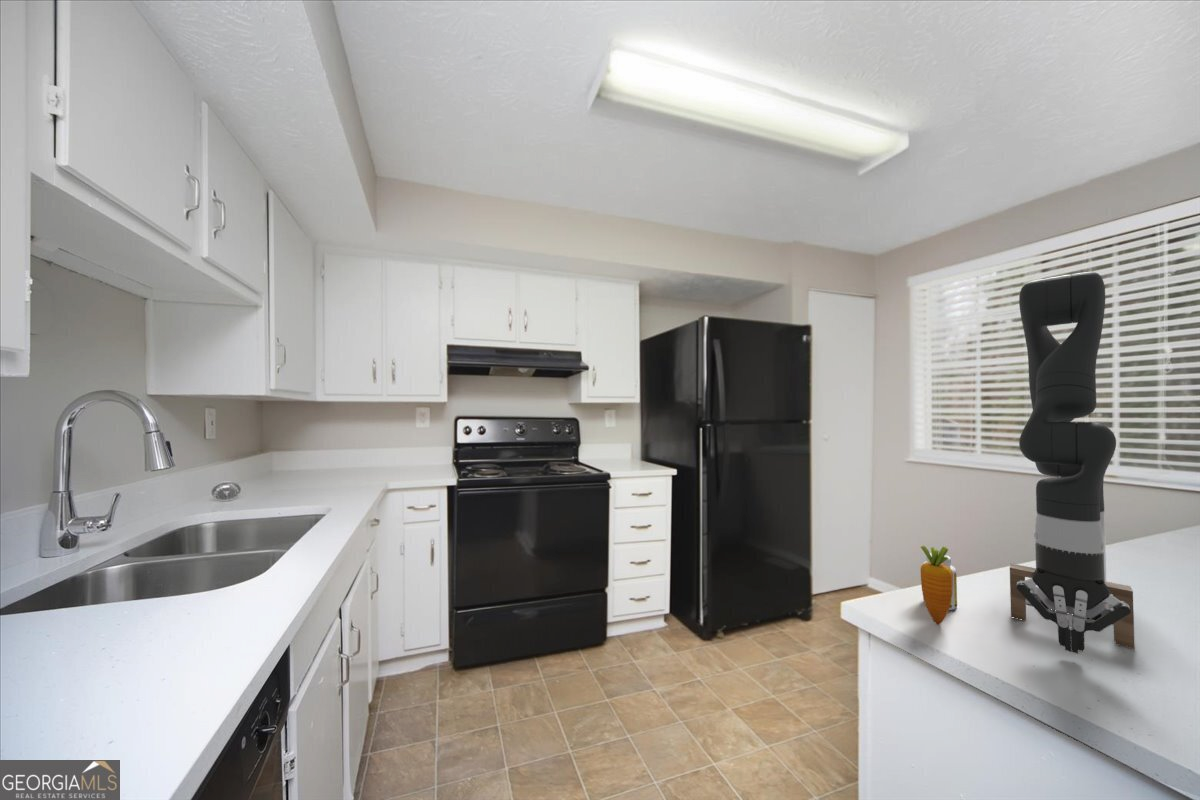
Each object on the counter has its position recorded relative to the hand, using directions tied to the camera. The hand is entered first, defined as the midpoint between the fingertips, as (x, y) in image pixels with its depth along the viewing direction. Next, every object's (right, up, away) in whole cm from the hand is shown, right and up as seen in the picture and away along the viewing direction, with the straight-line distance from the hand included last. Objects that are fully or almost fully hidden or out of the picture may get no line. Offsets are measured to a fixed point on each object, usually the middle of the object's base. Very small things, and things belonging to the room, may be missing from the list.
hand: (1071, 649), depth 69 cm
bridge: (+9, -2, +9) cm, 13 cm away
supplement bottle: (-6, -2, +19) cm, 20 cm away
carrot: (-13, -2, +11) cm, 17 cm away
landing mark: (+20, -1, +19) cm, 27 cm away
